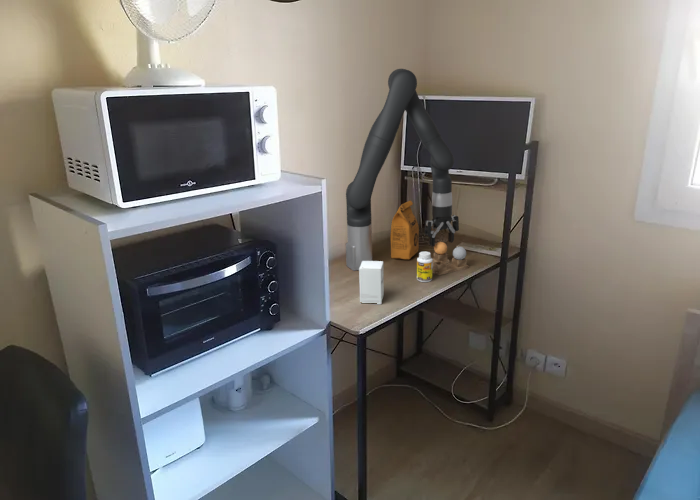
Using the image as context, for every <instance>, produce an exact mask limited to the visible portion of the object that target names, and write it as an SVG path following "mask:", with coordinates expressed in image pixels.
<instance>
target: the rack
mask: <svg viewBox="0 0 700 500" xmlns="http://www.w3.org/2000/svg"><path fill="white" fill-rule="evenodd" d="M467 261H468V260H467V259H466V257H465V258H464V259H462V260H457V259H455V258H454V257H452V259H451V263H445V262H443V261H437V262H433V267H432V274H434V275H436V276H440V275H445V274H449V273H454V272H458V271H461V270H466V269H467V270H468V269H469V265H468V264H467Z"/></svg>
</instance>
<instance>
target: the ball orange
mask: <svg viewBox="0 0 700 500" xmlns="http://www.w3.org/2000/svg"><path fill="white" fill-rule="evenodd" d="M433 250H434V253H435V252H436V253H437V254H440V255H442V254H444V253H447V251H448V245H447V244H446V242H443V241H437V242H435V246H434V247H433Z"/></svg>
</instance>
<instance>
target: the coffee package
mask: <svg viewBox="0 0 700 500" xmlns="http://www.w3.org/2000/svg"><path fill="white" fill-rule="evenodd" d="M413 204H414V203H413V201H412V200H408V201H406V202H404V203H402V204H401V205H400V206H399V207H398V209H397V211H396V212H395V214H394V215H393V218H392V220H391V226H390V258H391V259H401V260H410V259H411V258H412V257H414V256H415V255H416V254H417V253H418V252H419V249H420V247H419V237H420V235H419V234H420V231H419V230H420V228H419V223H418V220H417V218H416V216H415V215H414V213H413V211H412V207H411V206H413Z"/></svg>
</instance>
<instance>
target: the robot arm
mask: <svg viewBox="0 0 700 500" xmlns="http://www.w3.org/2000/svg"><path fill="white" fill-rule="evenodd" d="M387 86H388V93H387V96H386V98H385V99H386V100H385V103H384V105H383V107H382V109H381V111H380V113H379V114H378V115H377V117H376V119H375V121H374V122H373V124H372V126H371V127H370V130H369V132H368V135H367V137H366V140H365V142H364V145H363V149H362V153H361V157H360V161H359V162H360V163H359V166H358V169H357V173H356V174H355V176H354V179H353V181H351V182H350V183H349V184H348V185H347V187H346V191H345V200H346V225H347V226H346V228H347V242H346V243H345V258H346V259H345V260H346V261H345V262H346V263H345V264H346V267H347V268H349V269H350V270H352V271H354V272H355V271H359V268H360V265H361V263H362V261H373V237H372V235H373V233H372V230H373V227H372V196H373V192H374V191H373V190H374V187H375V184H376V181H377V178H378V176H379V174H380V171H381V169H382V167H383V166H384V164H385V162H386V160H387V158H388V157H389V153H390V152H391V149H392V147H393V144H394V141H395V140H396V137H397V136H396V135H397V133H398V131H399V127H400V125H401V121H402V119H403V116H404V113H405V112H406V114H407V116H408V117H409V118H408V119H410V122H411V124H412V125H413V128H414V129H415V131H416V134H417V135H418V137H419V139H420V142H421V143H422V146H423V147H424V148H425V149H426V150H427V151H428V152H429V154H430V161H429V162H430V171H431V176H432V196H431V216H432V219H431V220H427V219H426V220H425V221H424V236H426V237H428V239H429V241H428V243H429V245H430V246H431V247H432V248H434V246H435V244H436V235H437V234H438V233H439V231H444V230H447V231H448V232H447V233H448V235H447V236H448V239H447V241H448V242H449V243H454V240H455V233H456V232H458V231H460V230H459V229H460V224H459V222H460V221H459V219H460V218H459V216H457V215H455V214H453V194H452V191H453V190H452V189H453V188H452V187H453V186H452V184H453V182H452V177H451V175H450V170H451V169H453V167H454V165H455V157H454V155H453V153H452V151H451V149H450V148H449V146H448V145H447V143H446V142H445V141H444V139H443V137H442V136H441V133H440V131H439V129H438V127H437V125H436V123H435V122H434V120H433V119H432V117H431V116H430V114H429V113H428V110H427V109H426V108H425V107H424V104H423V103H422V101H421V100H420V97H419V95H418V92H417V90H416V89H417V86H418V80H417V77H416V75H415V73H414V72H412V71H411V70H409V69H406V68H397V69H395V70H393V71H392V72H391V73H390V74H389V76H388V81H387ZM451 222H452V224H451Z"/></svg>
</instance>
